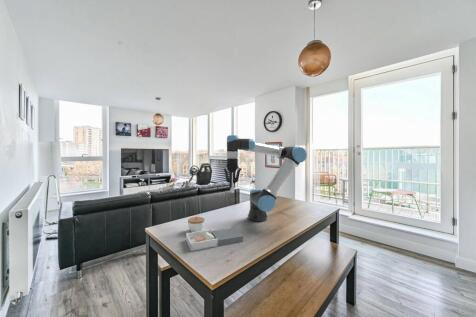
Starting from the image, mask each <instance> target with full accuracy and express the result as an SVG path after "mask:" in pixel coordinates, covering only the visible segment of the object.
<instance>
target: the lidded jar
mask: <svg viewBox="0 0 476 317" xmlns="http://www.w3.org/2000/svg"><path fill="white" fill-rule="evenodd" d="M187 224H188V228H189V230H190V231H191V232H198V231H203V228H204V226H205V217H202V216H193V217H190V218H187Z"/></svg>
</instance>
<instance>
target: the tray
mask: <svg viewBox="0 0 476 317" xmlns="http://www.w3.org/2000/svg"><path fill="white" fill-rule="evenodd" d="M211 231H212V229H205V230H201V231H198V232H192V231H191V232H186V233H185V241H186V243H187V247H188V249H189V251H190V252H193V251H194V252H195V251H199V250H205V249H211V248H216V247H219V246H218V239H212V240H207V239H206V241H200V242H195V237H198V236H203V235H204V233H205V232H208V233H210V234H211Z"/></svg>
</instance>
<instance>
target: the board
mask: <svg viewBox="0 0 476 317" xmlns="http://www.w3.org/2000/svg"><path fill="white" fill-rule="evenodd" d="M211 234H212V235H213V236H214V238H215V239H218V246H217V247H219V246H223V245H225V246H226V245H228V244H230V245H231V244H236V243H240V242H243V241H244V236H243V235H242V234H241V233H240V232H239V231H238V230H237V229H236V228H235V227H231V228H224V229H223V228H222V229H218V230H211Z"/></svg>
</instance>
